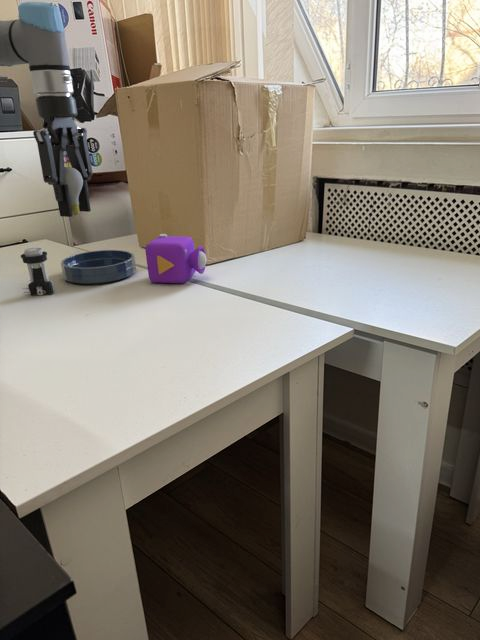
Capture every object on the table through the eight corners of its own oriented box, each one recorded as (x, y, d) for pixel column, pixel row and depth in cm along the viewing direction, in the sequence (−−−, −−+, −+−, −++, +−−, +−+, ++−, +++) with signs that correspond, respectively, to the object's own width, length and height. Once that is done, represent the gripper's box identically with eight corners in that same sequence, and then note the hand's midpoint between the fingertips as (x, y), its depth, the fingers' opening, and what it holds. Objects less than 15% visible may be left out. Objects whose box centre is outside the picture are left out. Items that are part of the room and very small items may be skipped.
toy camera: (206, 284, 116) (203, 241, 112) (147, 286, 117) (141, 243, 112) (210, 271, 126) (207, 231, 122) (155, 273, 126) (150, 232, 122)
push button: (20, 298, 111) (9, 253, 107) (27, 291, 116) (17, 247, 112) (51, 296, 112) (42, 251, 108) (57, 289, 117) (48, 246, 113)
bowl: (49, 282, 121) (45, 265, 120) (93, 263, 136) (90, 248, 134) (110, 288, 116) (107, 270, 114) (149, 268, 131) (147, 251, 129)
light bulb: (57, 217, 110) (48, 168, 105) (70, 212, 114) (62, 165, 110) (80, 217, 109) (72, 168, 104) (92, 212, 114) (85, 165, 109)
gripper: (36, 94, 93) (61, 222, 103) (98, 95, 108) (115, 207, 118) (4, 95, 95) (31, 221, 105) (70, 97, 111) (88, 206, 121)
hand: (75, 213), depth 111 cm, fingers closed on light bulb, 5 cm apart
